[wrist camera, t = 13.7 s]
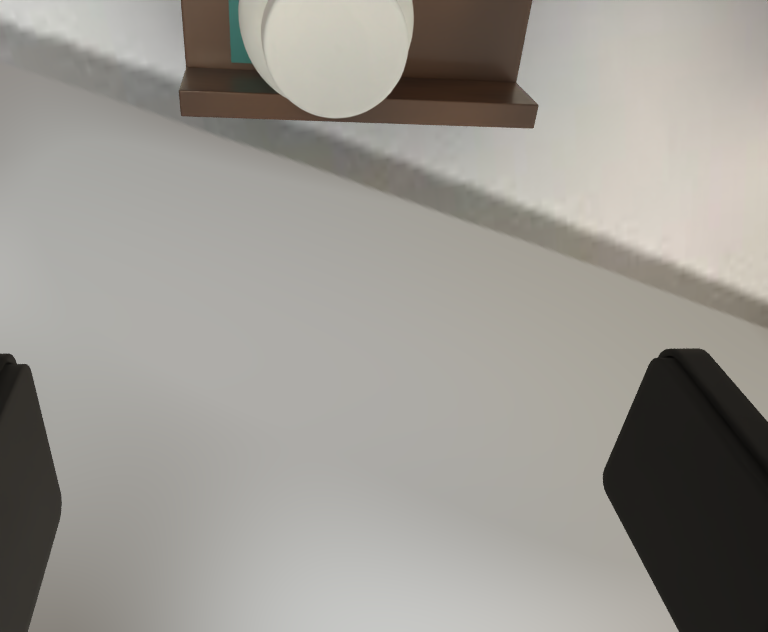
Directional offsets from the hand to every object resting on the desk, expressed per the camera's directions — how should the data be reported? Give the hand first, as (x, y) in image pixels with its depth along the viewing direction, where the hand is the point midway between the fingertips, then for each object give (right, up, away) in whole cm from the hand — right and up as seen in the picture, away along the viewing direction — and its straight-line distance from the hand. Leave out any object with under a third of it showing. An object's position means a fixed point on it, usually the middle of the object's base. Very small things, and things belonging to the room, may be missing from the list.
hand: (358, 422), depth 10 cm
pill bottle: (-2, +15, +16) cm, 21 cm away
